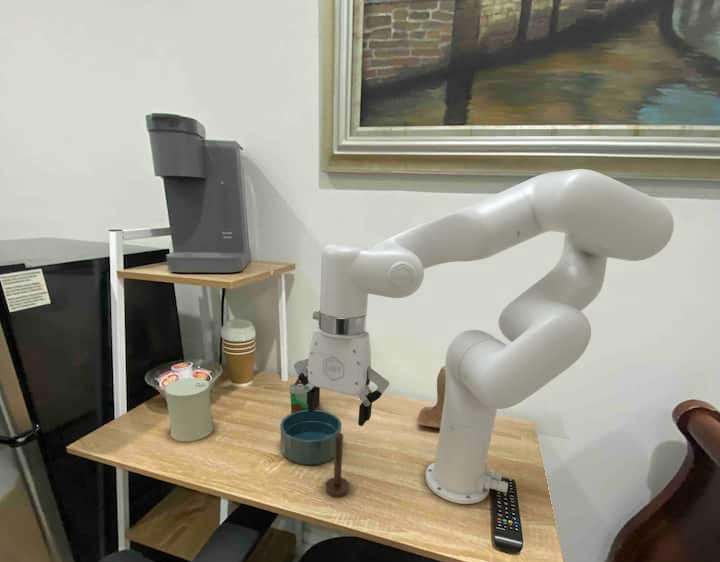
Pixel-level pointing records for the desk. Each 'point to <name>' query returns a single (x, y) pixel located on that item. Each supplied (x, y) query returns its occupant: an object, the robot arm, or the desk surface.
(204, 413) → the can
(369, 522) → the desk surface
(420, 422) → the brown wooden bookend
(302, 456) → the bowl
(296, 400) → the food container
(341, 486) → the brown peg stand
